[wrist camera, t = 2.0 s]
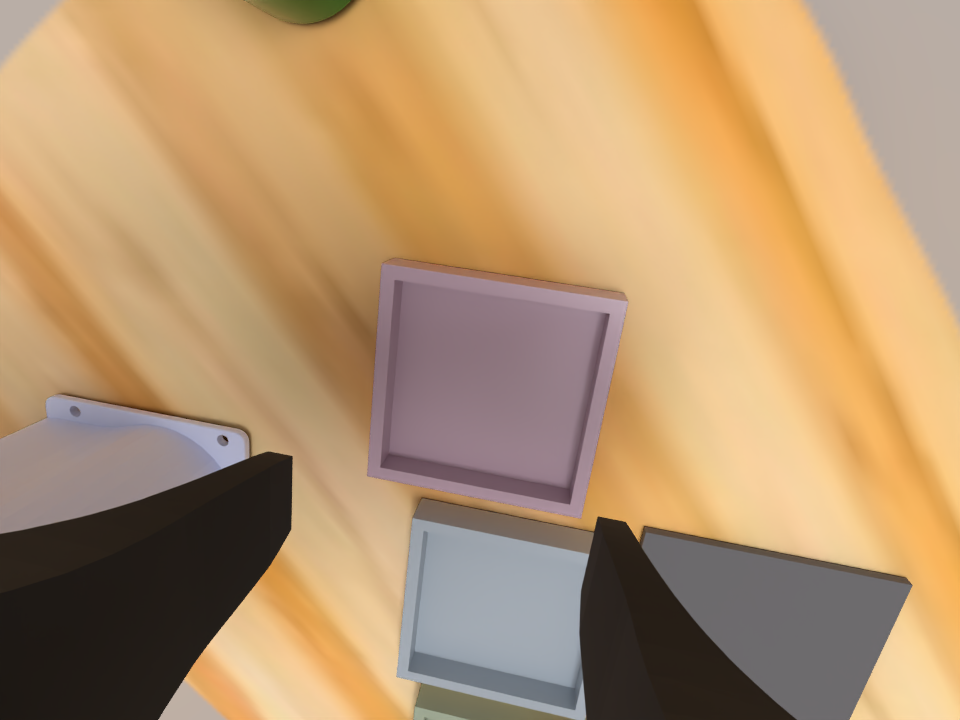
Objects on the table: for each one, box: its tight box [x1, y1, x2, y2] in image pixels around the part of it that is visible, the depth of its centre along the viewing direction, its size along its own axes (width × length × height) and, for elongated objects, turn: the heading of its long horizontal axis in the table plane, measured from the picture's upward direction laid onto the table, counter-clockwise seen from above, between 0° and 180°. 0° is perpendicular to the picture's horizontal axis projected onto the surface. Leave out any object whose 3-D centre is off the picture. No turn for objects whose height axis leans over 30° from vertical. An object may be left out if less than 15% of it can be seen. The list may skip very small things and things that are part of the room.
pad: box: [640, 527, 912, 720], centre depth 23 cm, size 10×10×1 cm
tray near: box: [367, 258, 628, 518], centre depth 21 cm, size 8×8×2 cm
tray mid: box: [396, 498, 594, 720], centre depth 24 cm, size 8×8×2 cm
